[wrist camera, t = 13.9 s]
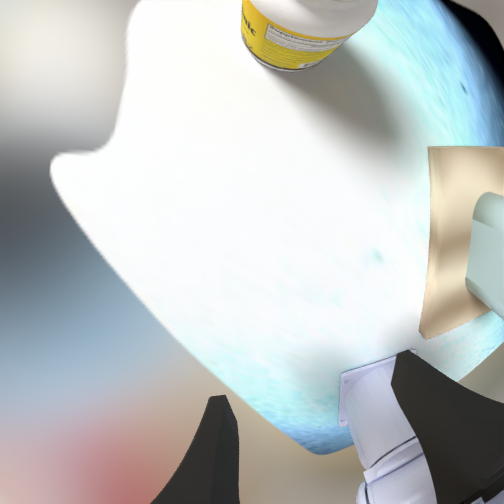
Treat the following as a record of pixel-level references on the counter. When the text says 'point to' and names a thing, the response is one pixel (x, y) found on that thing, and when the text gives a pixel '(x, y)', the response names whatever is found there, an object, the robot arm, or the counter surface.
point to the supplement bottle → (300, 29)
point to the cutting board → (455, 231)
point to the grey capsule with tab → (487, 252)
